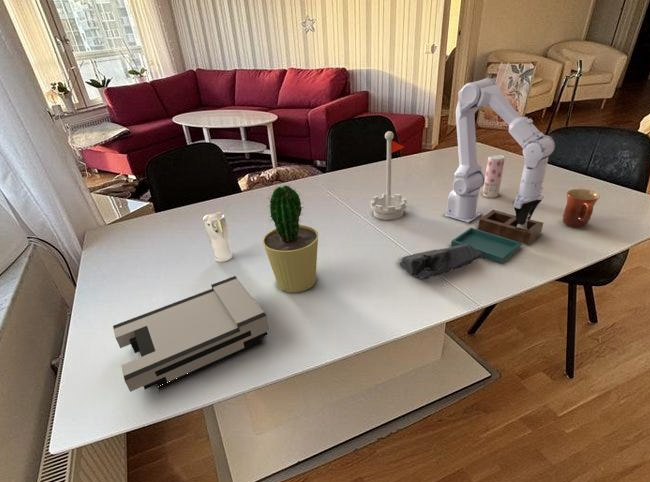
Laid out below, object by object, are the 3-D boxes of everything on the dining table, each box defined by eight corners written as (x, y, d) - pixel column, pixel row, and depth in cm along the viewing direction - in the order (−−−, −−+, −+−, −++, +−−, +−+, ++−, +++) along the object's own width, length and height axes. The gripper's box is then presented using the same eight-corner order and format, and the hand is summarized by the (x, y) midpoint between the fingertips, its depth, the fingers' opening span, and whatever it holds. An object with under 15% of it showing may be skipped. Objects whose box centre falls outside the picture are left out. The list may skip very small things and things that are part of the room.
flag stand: (366, 219, 146) (365, 136, 129) (375, 204, 155) (375, 126, 139) (402, 222, 141) (405, 137, 124) (409, 207, 151) (412, 126, 134)
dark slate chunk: (491, 264, 110) (491, 248, 108) (418, 283, 107) (417, 267, 105) (460, 246, 123) (460, 232, 121) (395, 262, 120) (394, 248, 118)
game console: (123, 346, 99) (110, 321, 94) (241, 299, 111) (235, 275, 106) (136, 403, 83) (122, 376, 79) (272, 341, 95) (266, 315, 91)
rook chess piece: (509, 232, 128) (514, 210, 123) (523, 231, 128) (528, 208, 123) (516, 239, 124) (521, 216, 119) (530, 237, 124) (536, 214, 119)
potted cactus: (304, 302, 107) (290, 199, 91) (260, 289, 114) (240, 191, 98) (332, 273, 117) (324, 177, 101) (290, 263, 125) (276, 171, 109)
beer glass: (238, 252, 134) (228, 212, 125) (228, 263, 128) (217, 222, 120) (220, 251, 136) (210, 211, 128) (209, 261, 131) (198, 221, 122)
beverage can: (499, 193, 153) (506, 154, 145) (496, 198, 150) (503, 159, 141) (484, 191, 156) (490, 153, 148) (480, 196, 152) (486, 158, 144)
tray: (450, 246, 124) (451, 240, 123) (470, 232, 130) (470, 227, 129) (501, 263, 113) (502, 258, 112) (520, 248, 119) (521, 242, 118)
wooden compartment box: (477, 229, 131) (479, 218, 129) (491, 220, 136) (493, 209, 134) (527, 245, 120) (530, 233, 118) (540, 234, 125) (543, 222, 123)
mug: (555, 217, 133) (563, 189, 127) (584, 217, 131) (593, 188, 125) (566, 234, 123) (575, 204, 118) (598, 235, 121) (609, 204, 116)
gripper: (535, 190, 109) (525, 234, 117) (557, 175, 117) (546, 216, 124) (509, 185, 114) (502, 227, 121) (532, 170, 121) (523, 211, 129)
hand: (522, 221), depth 123 cm, fingers closed on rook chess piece, 3 cm apart
